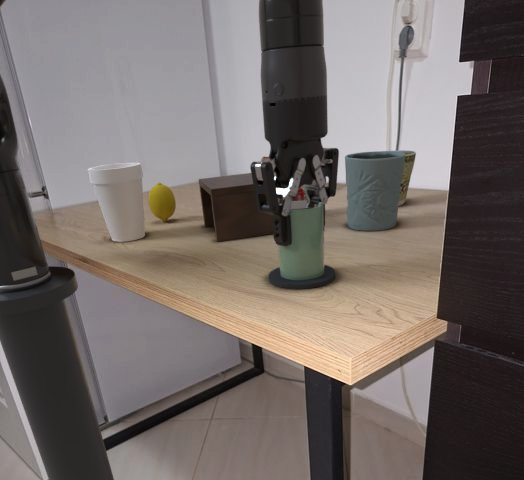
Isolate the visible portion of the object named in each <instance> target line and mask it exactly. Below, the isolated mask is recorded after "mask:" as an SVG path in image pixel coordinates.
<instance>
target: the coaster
mask: <svg viewBox="0 0 524 480" xmlns="http://www.w3.org/2000/svg"><path fill="white" fill-rule="evenodd" d="M324 268H325V272H324V274H323V275H322V276H320V277H318V278H314V279H310V280H289V279H285V278H283V277H281V275H280V266H278V267H276V268H274V269H273V270H271V271H270V272H269V273H268V281H269V283H271V284H272V285H273V286H275V287H278V288H282V289H291V290H303V289H304V290H305V289H306V290H307V289H314V288H318V287H323V286H326V285H328V284H329V283H332V282H333V281H334V280H335V279H336V276H337V275H336V270H335V268H333V267H331V266H329V265H326V264H324Z"/></svg>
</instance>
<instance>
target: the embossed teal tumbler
mask: <svg viewBox="0 0 524 480" xmlns="http://www.w3.org/2000/svg"><path fill="white" fill-rule="evenodd" d="M394 151H395V150H380V151H379V150H377V151H363V152H362V151H361V152H354V153H349V154H346V155H345V156H344V166H345V167H344V169H345V186H346V200H347V207H346V216H347V226H348V228H349V229H352V230H356V231H363V232H374V231H375V232H376V231H384V230H389V229H393V228H394V227H396V224H397V221H398V213H399V206H398V203H399V198H400V197H399V195H400V185H401V182H402V174H403V170H404V163H405V156H406V155H405V153H402V152H394Z"/></svg>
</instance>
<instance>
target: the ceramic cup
mask: <svg viewBox="0 0 524 480" xmlns="http://www.w3.org/2000/svg"><path fill="white" fill-rule="evenodd" d="M393 151H394V152H402V153H405V155H406V156H405V163H404V170H403V174H402V182H401V185H400V195H399V197H400V198H399V203H398V207H400V206H402V205H404V204H405V202H406V200H407V196H408V190H409V188H410V182H411V177H412V173H413V170H414V166H415V162H416V155H417V152H416V151H414V150H403V149H402V150H399V149H397V150H393Z"/></svg>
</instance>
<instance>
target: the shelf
mask: <svg viewBox="0 0 524 480" xmlns="http://www.w3.org/2000/svg"><path fill="white" fill-rule="evenodd" d="M198 186H199V194H200V203H201V209H202V218H203V225H204V227H205V228H208V227H214V233H215V241H216V242H217V243H219V242H226V241H232V240H240V239H246V238H254V237H260V236H268V235H273V223H272V216H271V215H270V214H267V213H261V212H259V211H258V207H257V201H256V196H255V190H254V185H253V179H252V174H251V172H248V173H238V174H230V175H222V176H212V177H204V178H198ZM281 188H283V189H286V188H284V186H282V185H281ZM265 195H266V194H265ZM282 200H283V197H281V199H280V203H279V204H282ZM266 201H267V203H268V198H267V195H266Z"/></svg>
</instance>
